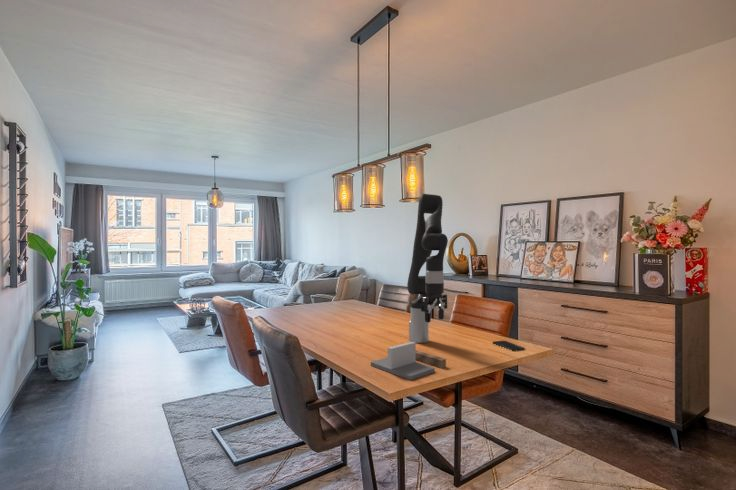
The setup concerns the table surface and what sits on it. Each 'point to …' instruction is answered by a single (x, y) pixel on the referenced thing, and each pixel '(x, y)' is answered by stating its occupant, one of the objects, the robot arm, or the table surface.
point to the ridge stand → (403, 362)
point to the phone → (508, 345)
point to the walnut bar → (430, 359)
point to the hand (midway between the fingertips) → (434, 320)
